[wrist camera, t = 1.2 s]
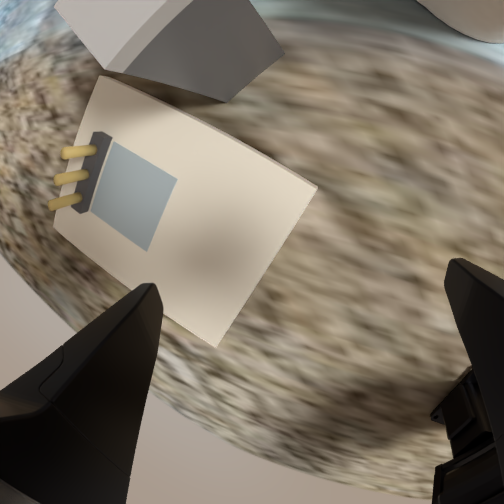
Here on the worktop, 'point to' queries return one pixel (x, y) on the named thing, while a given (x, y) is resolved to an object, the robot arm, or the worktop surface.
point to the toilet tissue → (471, 17)
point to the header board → (174, 205)
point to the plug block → (177, 41)
